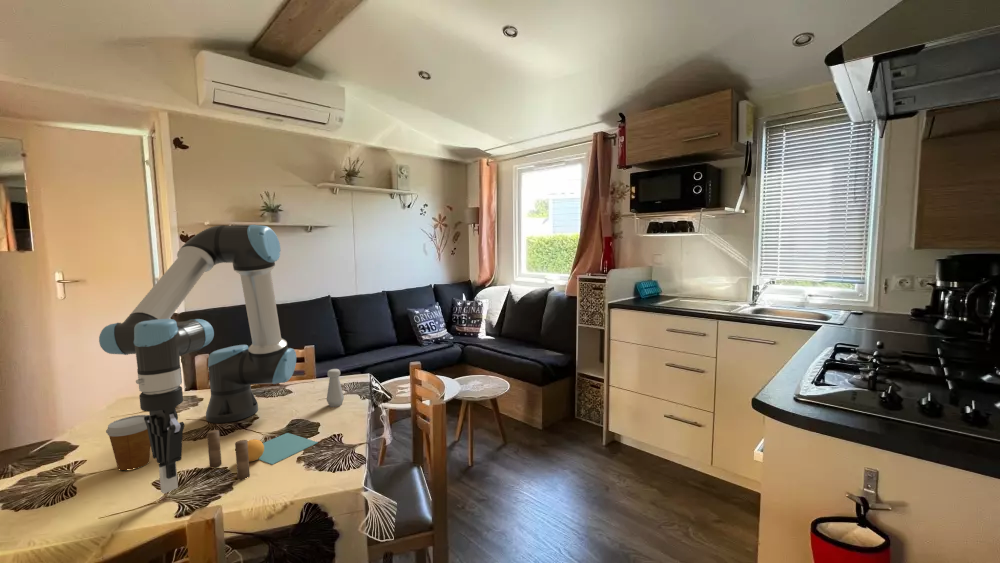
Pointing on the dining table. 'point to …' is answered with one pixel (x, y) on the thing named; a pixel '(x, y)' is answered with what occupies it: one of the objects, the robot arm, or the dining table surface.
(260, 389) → the dining table surface
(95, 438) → the dining table surface
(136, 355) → the robot arm
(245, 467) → the outer post
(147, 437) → the disposable coffee cup
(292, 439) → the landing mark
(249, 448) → the ball
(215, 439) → the inner post
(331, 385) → the salt shaker
